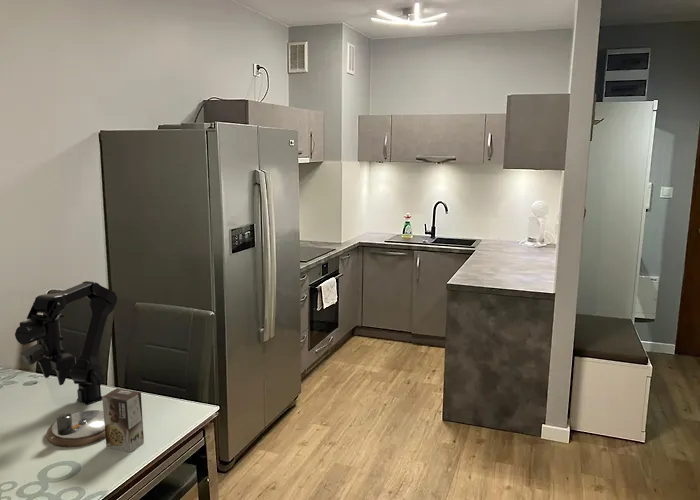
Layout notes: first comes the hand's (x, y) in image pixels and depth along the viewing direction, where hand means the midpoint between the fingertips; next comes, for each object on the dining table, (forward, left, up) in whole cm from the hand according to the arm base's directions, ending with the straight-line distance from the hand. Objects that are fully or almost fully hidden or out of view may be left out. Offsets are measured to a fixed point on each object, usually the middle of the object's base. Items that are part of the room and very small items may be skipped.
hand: (54, 381), depth 180 cm
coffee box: (-4, +32, -13) cm, 35 cm away
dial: (-1, +14, -11) cm, 18 cm away
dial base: (-1, +14, -13) cm, 19 cm away
